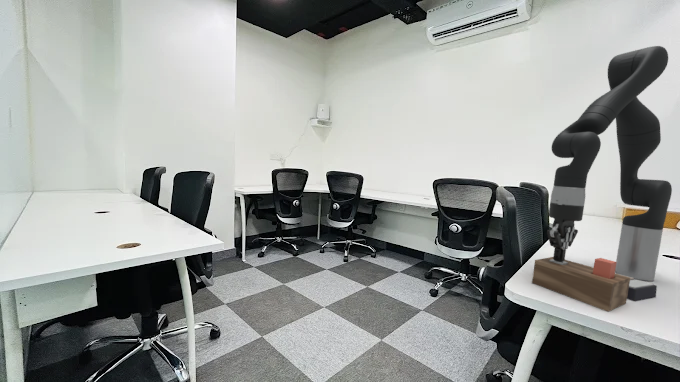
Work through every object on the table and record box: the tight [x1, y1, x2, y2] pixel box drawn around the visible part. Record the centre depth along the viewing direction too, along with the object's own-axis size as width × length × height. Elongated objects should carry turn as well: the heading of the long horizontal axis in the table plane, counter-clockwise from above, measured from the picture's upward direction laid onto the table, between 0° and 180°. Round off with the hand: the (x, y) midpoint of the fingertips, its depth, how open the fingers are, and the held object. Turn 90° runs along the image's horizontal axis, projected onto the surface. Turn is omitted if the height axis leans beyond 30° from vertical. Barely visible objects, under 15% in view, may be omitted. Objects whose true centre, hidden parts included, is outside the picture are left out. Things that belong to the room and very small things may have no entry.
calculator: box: [615, 272, 658, 302], centre depth 81 cm, size 11×4×15 cm
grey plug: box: [549, 259, 568, 265], centre depth 79 cm, size 3×3×7 cm
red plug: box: [593, 257, 617, 279], centre depth 70 cm, size 3×3×7 cm
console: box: [531, 256, 630, 312], centre depth 75 cm, size 11×17×7 cm, turn 27°
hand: (558, 260), depth 79 cm, fingers closed
